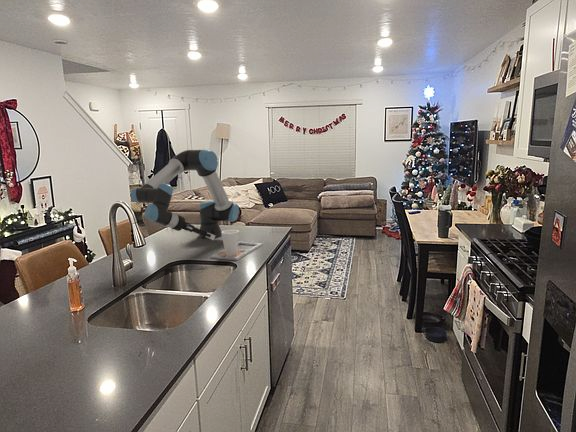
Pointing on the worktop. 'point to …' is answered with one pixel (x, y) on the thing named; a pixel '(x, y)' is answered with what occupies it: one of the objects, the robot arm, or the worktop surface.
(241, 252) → the flat grey tray
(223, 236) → the foam cup
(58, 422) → the worktop surface
